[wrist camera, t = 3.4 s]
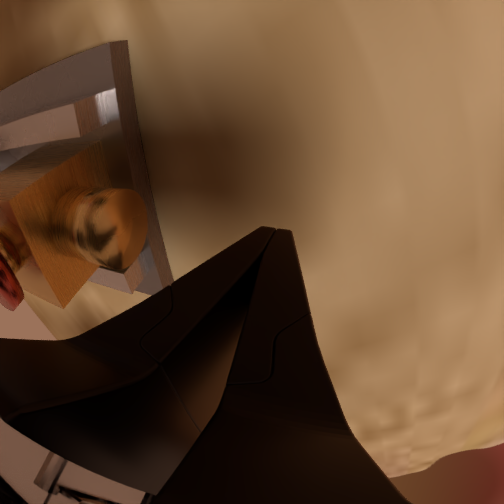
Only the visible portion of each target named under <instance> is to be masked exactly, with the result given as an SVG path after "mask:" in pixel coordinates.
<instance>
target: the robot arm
mask: <svg viewBox="0 0 504 504" xmlns="http://www.w3.org/2000/svg"><path fill="white" fill-rule="evenodd" d="M0 504H413V503H411V502H410V501H408V500H407V499H406V498H405V497H404V496H403V495H402V494H401V493H400V491H399V490H398V489H397V488H396V487H395V485H394V484H393V483H392V482H391V481H390V479H389V478H388V477H387V476H386V475H385V473H384V472H383V471H382V470H381V469H380V467H379V466H378V465H377V464H376V463H375V461H374V460H373V459H372V458H371V456H370V455H369V454H368V453H367V451H366V450H365V449H364V448H363V446H362V445H361V444H360V443H359V442H358V440H357V439H356V438H355V436H354V434H353V433H352V431H351V429H350V427H349V425H348V423H347V421H346V419H345V416H344V414H343V411H342V409H341V406H340V403H339V401H338V398H337V395H336V392H335V390H334V387H333V384H332V382H331V379H330V376H329V374H328V371H327V368H326V366H325V363H324V360H323V357H322V354H321V351H320V348H319V345H318V341H317V337H316V333H315V329H314V325H313V320H312V316H311V312H310V307H309V302H308V298H307V293H306V289H305V285H304V280H303V276H302V271H301V267H300V263H299V259H298V254H297V250H296V246H295V242H294V238H293V234H292V231H291V230H286V229H277V230H276V229H275V228H272V227H265V226H261V227H259V228H258V229H256V230H255V231H253V232H251V233H250V234H248V235H247V236H245V237H243V238H242V239H240V240H239V241H237V242H235V243H234V244H232V245H231V246H229V247H228V248H226V249H224V250H223V251H221V252H220V253H218V254H216V255H215V256H213V257H212V258H210V259H209V260H207V261H205V262H204V263H202V264H201V265H199V266H198V267H196V268H194V269H193V270H191V271H190V272H188V273H187V274H185V275H184V276H182V277H180V278H179V279H177V280H176V281H174V282H173V283H171V286H170V285H168V286H166V287H165V288H163V289H162V290H160V291H159V292H157V293H155V294H154V295H152V296H150V297H149V298H147V299H146V300H144V301H142V302H141V303H139V304H137V305H135V306H133V307H132V308H130V309H128V310H126V311H124V312H123V313H121V314H119V315H117V316H115V317H113V318H111V319H109V320H107V321H106V322H104V323H102V324H100V325H98V326H96V327H94V328H92V329H91V330H89V331H87V332H85V333H83V334H81V335H79V336H76V337H73V338H70V339H66V340H55V341H53V340H49V341H48V340H25V339H7V338H0Z"/></svg>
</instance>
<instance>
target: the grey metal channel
mask: <svg viewBox="0 0 504 504" xmlns="http://www.w3.org/2000/svg"><path fill="white" fill-rule="evenodd" d="M96 140H101V142H102V146H103V151H104V155H105V159H106V163H107V167H108V171H109V175H110V179H111V183H112V187H113V188H121V189H131V190H134V191H135V192H137V193H138V194H139V195H140V196H141V198H142V199H143V201H144V204H145V207H146V211H147V219H148V226H147V234H146V239H145V243H144V246H143V248H142V250H141V252H140V254H139V256H138V257H137V259H136V260H135V261H134V262H133V263H132V264H131V265H130V266H129V267H127V268H125V269H121V270H117V269H113V268H109V267H105V266H101V265H100V267H99V268H98V269H97V270H96V271H95V272H94V273H93V274H92V276H91V277H90V278H89V279H88V281H91V282H94V283H97V284H100V285H103V286H107V287H110V288H113V289H116V290H120V291H123V292H126V293H130V294H132V293H133V292H134V290H135V291H139V292H142V293H146V294H149V295H154V294H155V293H157V292H159V291H160V290H162V289H163V288H165V287H166V286H168V285H170V286H171V283H173V282H174V280H173V276H172V273H171V269H170V266H169V262H168V258H167V254H166V251H165V247H164V243H163V239H162V235H161V231H160V227H159V223H158V218H157V214H156V210H155V206H154V201H153V197H152V192H151V187H150V183H149V178H148V173H147V168H146V163H145V158H144V153H143V147H142V142H141V136H140V131H139V125H138V119H137V112H136V106H135V99H134V92H133V85H132V77H131V69H130V60H129V51H128V41H127V40H124V41H116V42H109V43H106V44H103V45H100V46H97V47H95V48H92V49H89V50H86V51H84V52H81V53H78V54H76V55H73V56H71V57H68V58H66V59H63V60H61V61H59V62H57V63H54V64H52V65H50V66H48V67H45V68H43V69H41V70H39V71H37V72H35V73H33V74H31V75H29V76H27V77H25V78H23V79H21V80H19V81H18V82H16V83H14V84H12V85H10V86H9V87H7V88H5V89H3V90H2V91H0V172H2V171H3V170H5V169H6V168H7V167H9V166H11V165H12V164H14V163H15V162H17V161H18V160H20V159H21V158H23V157H25V156H26V155H28V154H29V153H31V152H33V151H34V150H36V149H38V148H39V147H46V146H53V145H60V144H68V143H76V142H85V141H96Z"/></svg>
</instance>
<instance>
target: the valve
mask: <svg viewBox="0 0 504 504" xmlns="http://www.w3.org/2000/svg"><path fill="white" fill-rule="evenodd" d="M147 226H148V219H147V211H146V207H145V204H144V201H143V199H142V198H141V196H140V195H139V194H138V193H137V192H135V191H134V190H131V189H121V188H113V187H112V183H111V179H110V175H109V171H108V167H107V163H106V159H105V155H104V151H103V146H102V142H101V140H96V141H85V142H76V143H68V144H60V145H53V146H46V147H39V148H38V149H36V150H34V151H33V152H31V153H29V154H28V155H26V156H25V157H23V158H21V159H20V160H18V161H17V162H15V163H14V164H12V165H11V166H9V167H7V168H6V169H5V170H3V171H2V172H0V303H1V304H2V305H3V306H4V307H6V308H7V309H9V310H11V311H14V310H15V309H16V307H17V306H18V305H19V304H20V303H21V302H22V300H23V299H24V293H23V290H22V289H24V290H26V291H28V292H30V293H32V294H34V295H36V296H38V297H40V298H42V299H44V300H46V301H48V302H50V303H52V304H54V305H56V306H58V307H60V308H63V309H64V308H65V307H66V305H67V304H68V303H69V302H70V300H71V299H72V298H73V297H74V296H75V294H76V293H77V292H78V291H79V290H80V288H81V287H82V286H83V285H84V284H85V283H86V281H87V280H88V279H89V278H90V277H91V276H92V274H93V273H94V272H95V271H96V270H97V269H98V268H99V267H100V265H101V266H105V267H109V268H113V269H117V270H121V269H125V268H127V267H129V266H130V265H131V264H132V263H133V262H134V261H135V260H136V259H137V257H138V256H139V254H140V252H141V250H142V248H143V246H144V243H145V239H146V234H147Z"/></svg>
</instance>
